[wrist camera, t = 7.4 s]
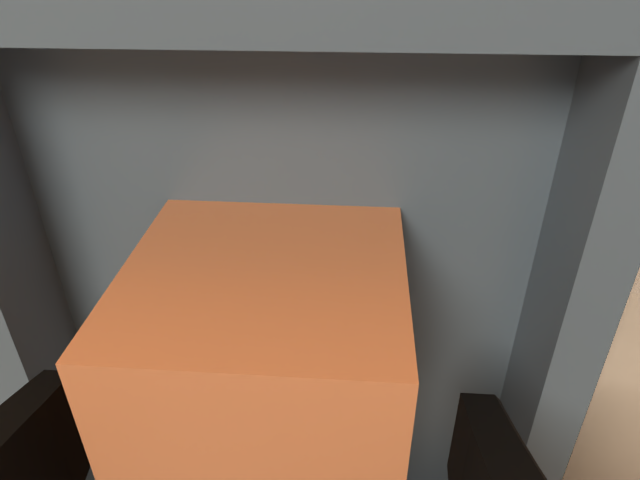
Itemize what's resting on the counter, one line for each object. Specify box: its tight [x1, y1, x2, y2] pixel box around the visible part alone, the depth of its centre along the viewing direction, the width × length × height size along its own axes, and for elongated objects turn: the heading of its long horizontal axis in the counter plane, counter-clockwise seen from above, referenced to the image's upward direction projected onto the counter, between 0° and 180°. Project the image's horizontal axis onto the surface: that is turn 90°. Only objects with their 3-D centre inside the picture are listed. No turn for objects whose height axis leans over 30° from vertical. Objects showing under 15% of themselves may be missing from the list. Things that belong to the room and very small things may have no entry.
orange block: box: [55, 200, 419, 480], centre depth 11 cm, size 5×5×5 cm
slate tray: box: [0, 0, 640, 480], centre depth 12 cm, size 13×15×2 cm
